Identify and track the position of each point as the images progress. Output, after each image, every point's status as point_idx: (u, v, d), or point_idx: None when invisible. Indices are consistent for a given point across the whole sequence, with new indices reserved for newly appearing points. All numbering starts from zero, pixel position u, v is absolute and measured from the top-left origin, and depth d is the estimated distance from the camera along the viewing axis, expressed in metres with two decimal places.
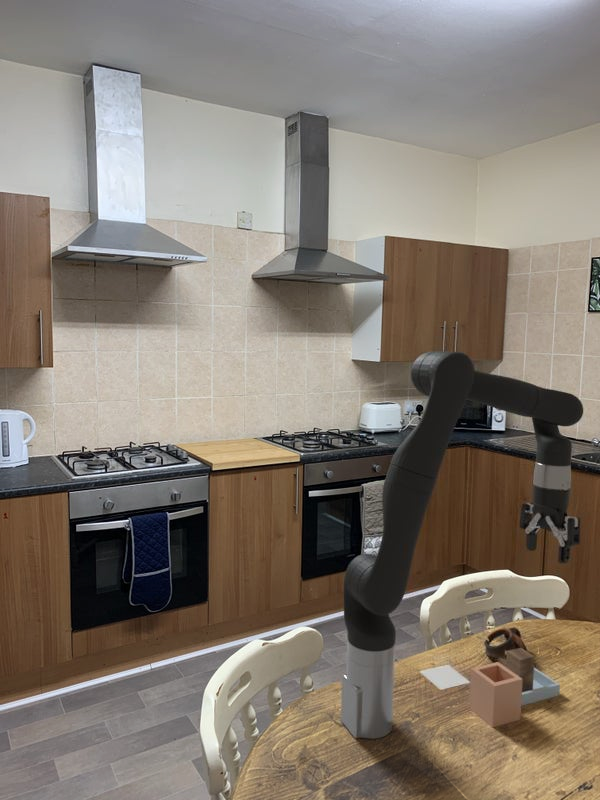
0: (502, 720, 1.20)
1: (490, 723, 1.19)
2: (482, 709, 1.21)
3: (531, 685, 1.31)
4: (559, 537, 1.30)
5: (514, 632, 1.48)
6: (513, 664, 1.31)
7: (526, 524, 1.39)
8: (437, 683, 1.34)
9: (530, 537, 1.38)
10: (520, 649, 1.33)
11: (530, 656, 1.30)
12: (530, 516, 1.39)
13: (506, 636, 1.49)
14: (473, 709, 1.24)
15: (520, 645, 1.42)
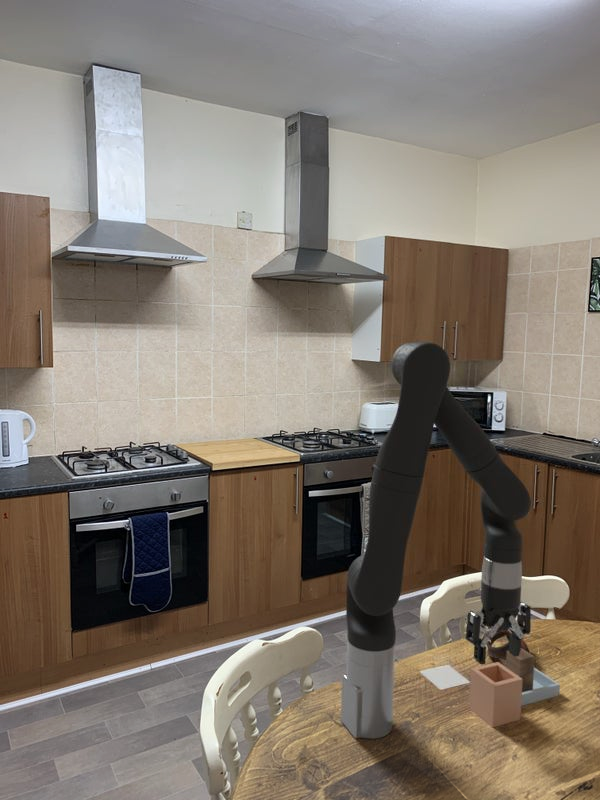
0: (502, 720, 1.20)
1: (490, 723, 1.19)
2: (482, 709, 1.21)
3: (531, 685, 1.31)
4: (518, 631, 1.22)
5: None
6: (513, 664, 1.31)
7: None
8: (437, 683, 1.34)
9: None
10: None
11: (530, 656, 1.30)
12: None
13: (508, 637, 1.48)
14: (473, 709, 1.24)
15: (522, 646, 1.42)
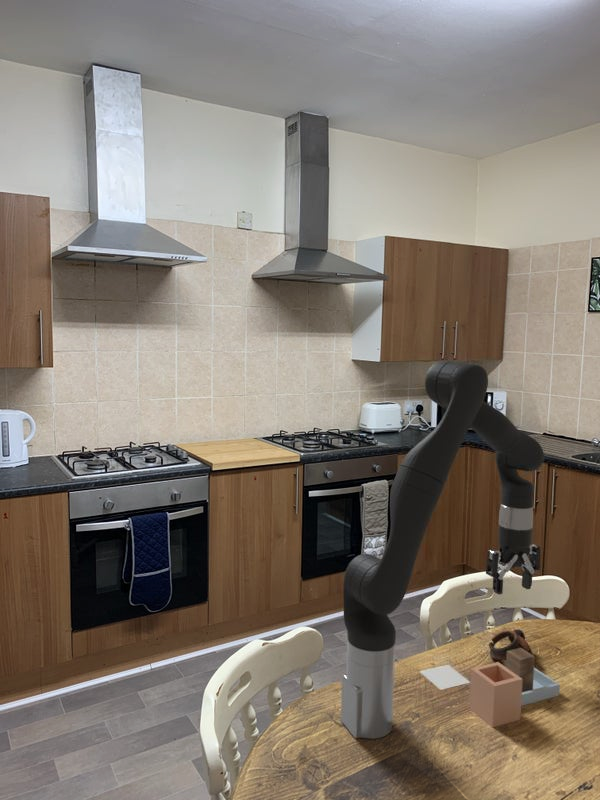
0: (502, 720, 1.20)
1: (490, 723, 1.19)
2: (482, 709, 1.21)
3: (531, 685, 1.31)
4: (530, 567, 1.45)
5: (518, 634, 1.47)
6: (513, 664, 1.31)
7: None
8: (437, 683, 1.34)
9: None
10: (520, 649, 1.33)
11: (530, 656, 1.30)
12: None
13: (510, 638, 1.48)
14: (473, 709, 1.24)
15: (525, 647, 1.41)
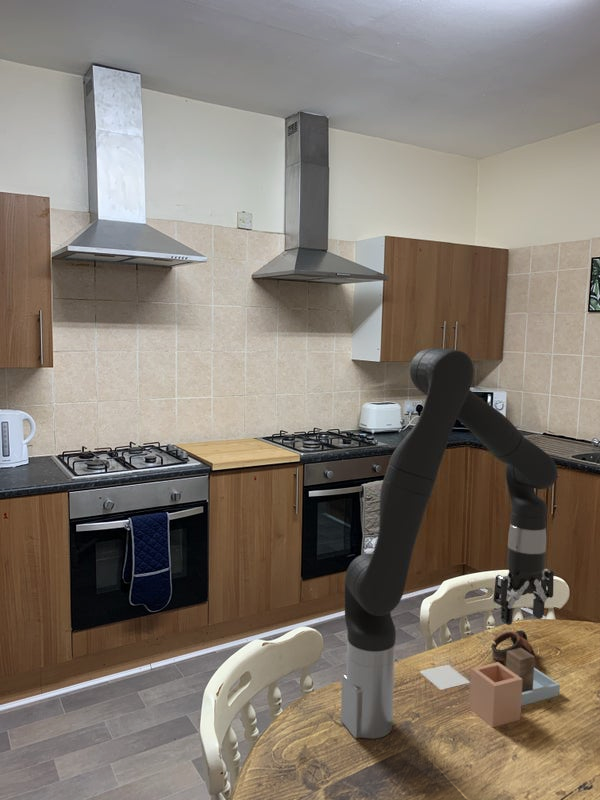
0: (502, 720, 1.20)
1: (490, 723, 1.19)
2: (482, 709, 1.21)
3: (531, 685, 1.31)
4: (542, 594, 1.31)
5: (521, 635, 1.46)
6: (513, 664, 1.31)
7: None
8: (437, 683, 1.34)
9: None
10: (520, 649, 1.33)
11: (530, 656, 1.30)
12: None
13: (513, 639, 1.47)
14: (473, 709, 1.24)
15: (528, 648, 1.41)
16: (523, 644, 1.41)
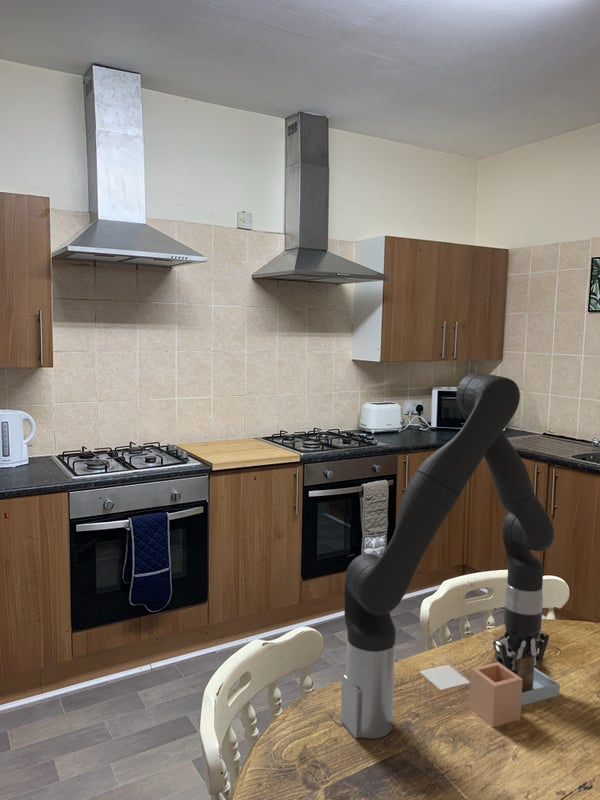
0: (502, 720, 1.20)
1: (490, 723, 1.19)
2: (482, 709, 1.21)
3: (531, 685, 1.31)
4: None
5: None
6: None
7: None
8: (437, 683, 1.34)
9: None
10: None
11: (530, 656, 1.30)
12: None
13: None
14: (473, 709, 1.24)
15: None
16: None
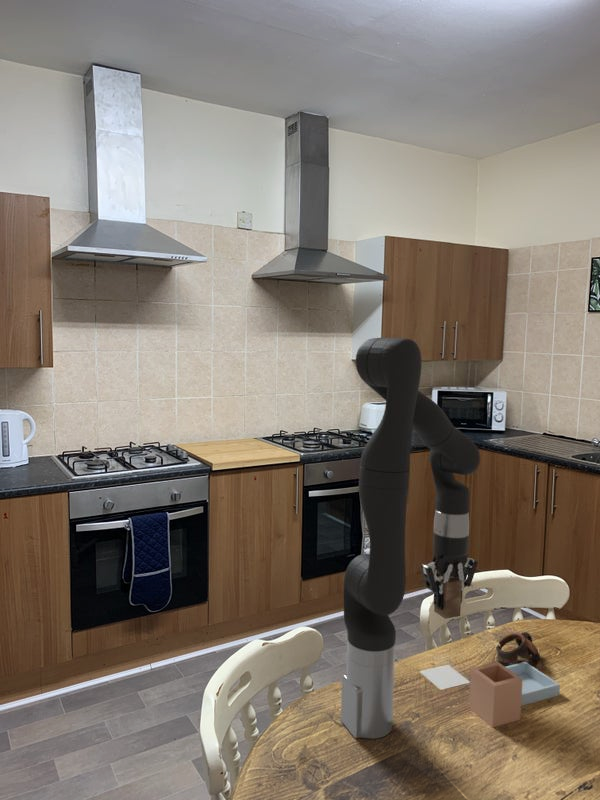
0: (502, 720, 1.20)
1: (490, 723, 1.19)
2: (482, 709, 1.21)
3: (459, 609, 1.34)
4: None
5: (526, 637, 1.46)
6: None
7: None
8: (437, 683, 1.34)
9: None
10: None
11: (457, 580, 1.33)
12: None
13: (518, 641, 1.46)
14: (473, 709, 1.24)
15: (533, 650, 1.40)
16: (528, 646, 1.41)
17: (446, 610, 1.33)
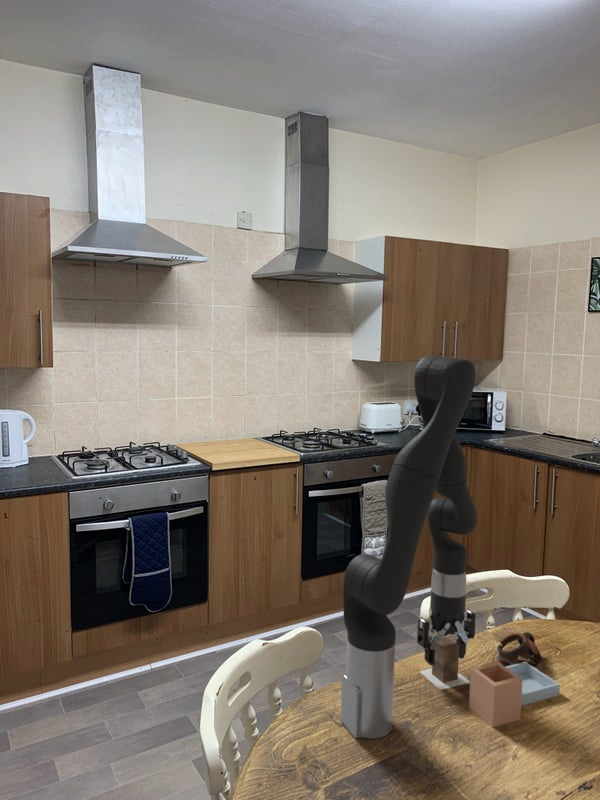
0: (502, 720, 1.20)
1: (490, 723, 1.19)
2: (482, 709, 1.21)
3: (456, 672, 1.35)
4: (463, 635, 1.36)
5: (528, 637, 1.46)
6: (438, 652, 1.35)
7: None
8: (437, 683, 1.34)
9: None
10: (447, 638, 1.38)
11: (455, 644, 1.35)
12: None
13: (520, 641, 1.46)
14: (473, 709, 1.24)
15: (534, 650, 1.40)
16: (529, 646, 1.40)
17: (443, 675, 1.34)
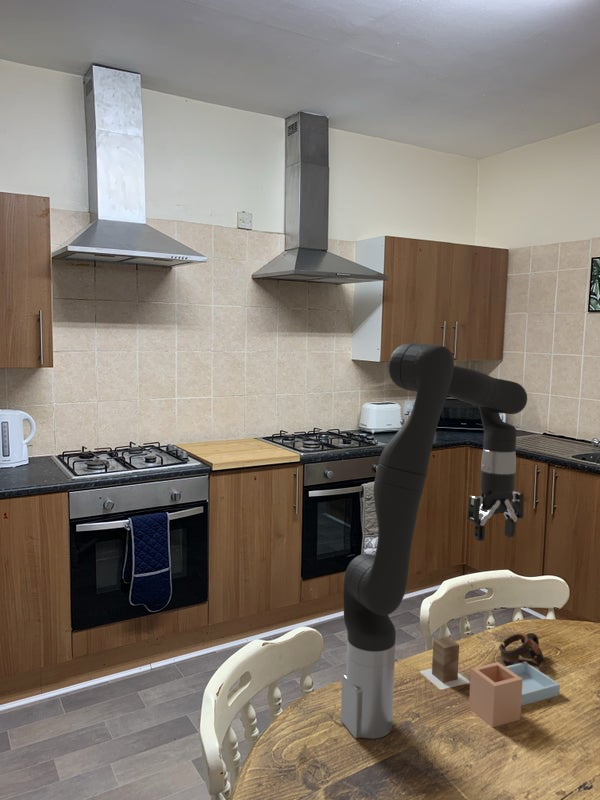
0: (502, 720, 1.20)
1: (490, 723, 1.19)
2: (482, 709, 1.21)
3: (456, 672, 1.35)
4: (512, 514, 1.41)
5: (531, 637, 1.45)
6: (438, 652, 1.35)
7: None
8: (437, 683, 1.34)
9: None
10: (447, 638, 1.38)
11: (455, 644, 1.35)
12: None
13: (523, 641, 1.46)
14: (473, 709, 1.24)
15: (535, 651, 1.40)
16: (531, 646, 1.40)
17: (443, 675, 1.34)
